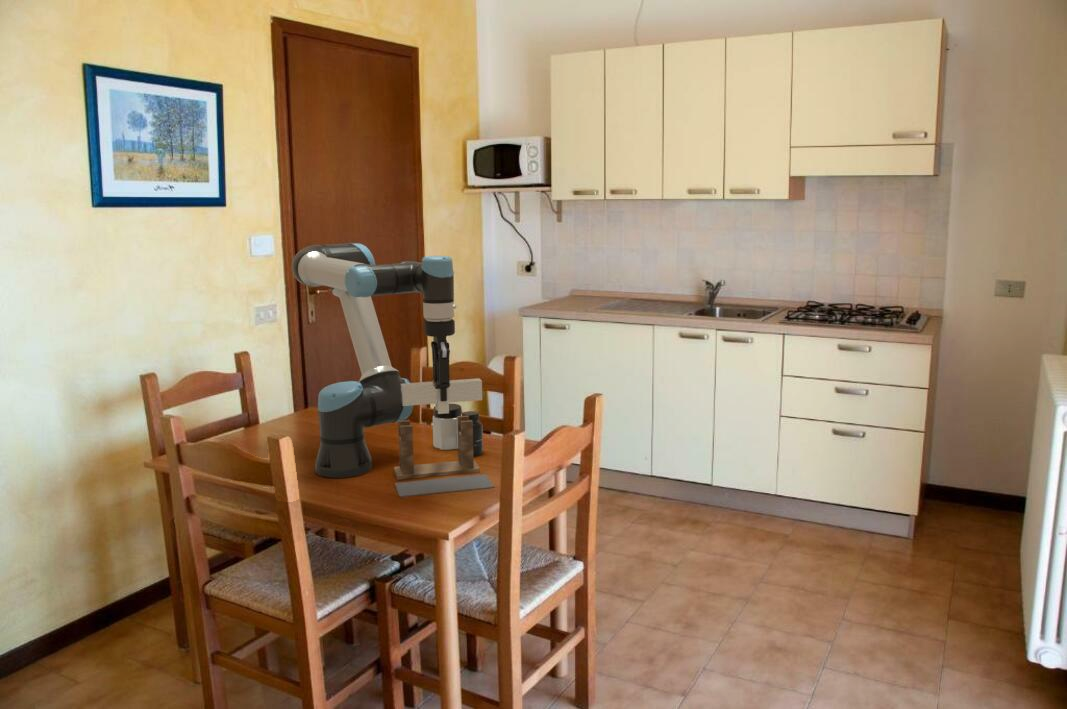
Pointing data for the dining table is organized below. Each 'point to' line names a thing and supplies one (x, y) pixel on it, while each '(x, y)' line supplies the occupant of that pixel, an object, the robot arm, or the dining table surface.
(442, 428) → the jar
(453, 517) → the dining table surface
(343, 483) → the dining table surface
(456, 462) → the stand
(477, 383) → the rail
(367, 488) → the dining table surface
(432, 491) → the mat
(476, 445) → the supplement bottle
